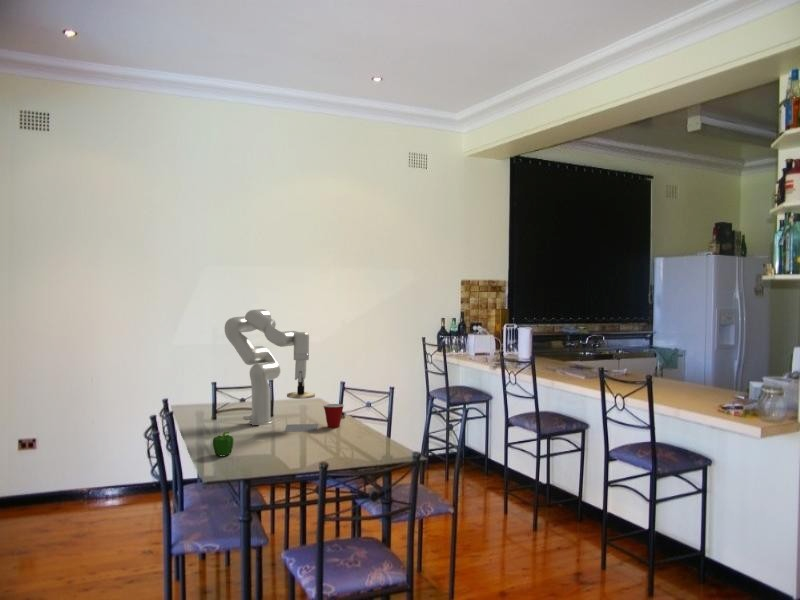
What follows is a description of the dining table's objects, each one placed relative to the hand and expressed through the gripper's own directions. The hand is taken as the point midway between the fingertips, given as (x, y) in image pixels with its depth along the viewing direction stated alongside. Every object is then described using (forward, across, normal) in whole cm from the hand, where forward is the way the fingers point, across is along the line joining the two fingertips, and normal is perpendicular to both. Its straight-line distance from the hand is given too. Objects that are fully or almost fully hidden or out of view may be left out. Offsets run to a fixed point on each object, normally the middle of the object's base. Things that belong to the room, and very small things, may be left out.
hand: (300, 392), depth 304 cm
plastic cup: (+18, -1, +17) cm, 25 cm away
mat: (+18, 0, +1) cm, 18 cm away
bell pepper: (+18, +45, -29) cm, 57 cm away
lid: (+2, 0, 0) cm, 2 cm away
